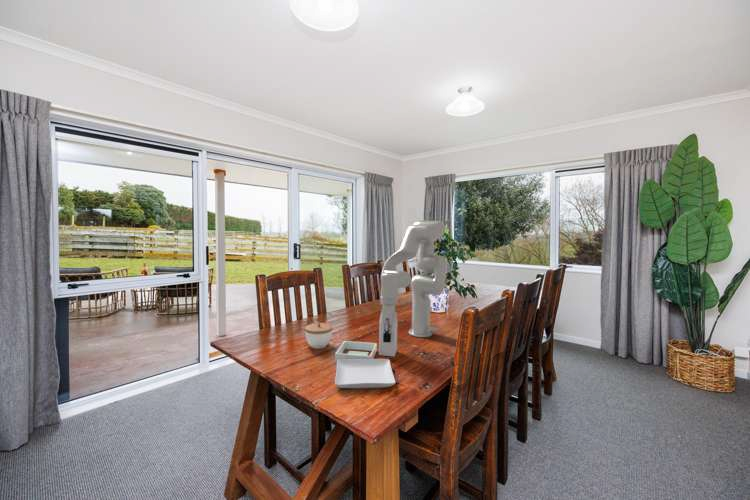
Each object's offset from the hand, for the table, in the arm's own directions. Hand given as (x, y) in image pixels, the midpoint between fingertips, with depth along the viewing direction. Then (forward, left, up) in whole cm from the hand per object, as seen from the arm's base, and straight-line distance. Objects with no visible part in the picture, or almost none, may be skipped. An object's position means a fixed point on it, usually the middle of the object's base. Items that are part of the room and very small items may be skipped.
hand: (388, 338), depth 144 cm
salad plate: (+6, +25, -7) cm, 27 cm away
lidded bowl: (+33, -2, -7) cm, 34 cm away
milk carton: (0, 0, -7) cm, 7 cm away
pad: (+13, +6, -7) cm, 16 cm away
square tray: (+13, +6, -7) cm, 16 cm away
